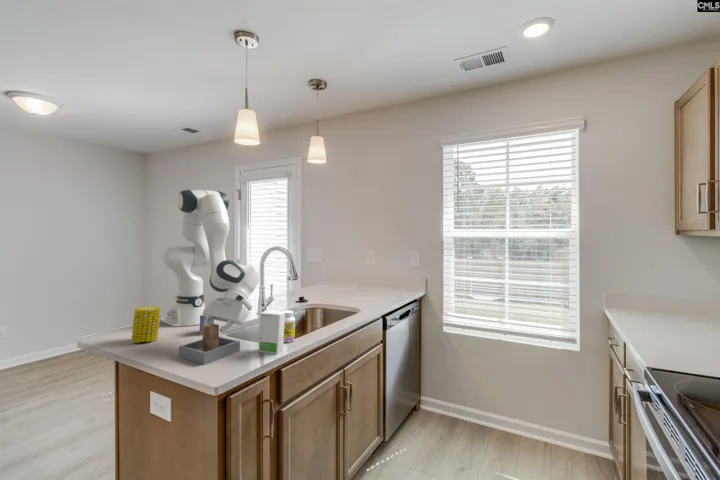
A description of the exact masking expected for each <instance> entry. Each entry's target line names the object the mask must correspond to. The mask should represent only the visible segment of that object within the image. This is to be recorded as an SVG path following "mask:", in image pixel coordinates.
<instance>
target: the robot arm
mask: <svg viewBox="0 0 720 480" xmlns="http://www.w3.org/2000/svg"><path fill="white" fill-rule="evenodd" d="M176 202H177V203H176V204H177V206H178V209H179V210H180V211H181V212H182V213H183V216H182V223H181V224H182V227H181V235H182V237H183V238H184V239H185V240H187V241H188V242H190V243H193V245H191V246H189V245H187V246H184V245H183V246H182V245H180V246H178V245H177V246H176V245H175V246H172V247H167V248H165V250H164V252H162V253H163V254H162V262H163V264H164V265H165V266H166V267H167V268H169V270H171V271H172V272H173V273H174V275H175V276H176V279H177V281H178V295H175V298H176V301H175V302H176V303H174V304H173V305H172V306H170V307H169V308H168V309H167V313H166V317H164V318H163V319H164V320H162V319H161V322H162V323H164V324H166V325H168V326H171V327H184V326H185V327H189V326H196V325H200V315H202V314H203V315H204V316H205V317H206V320H205V323H204V325H208V324H210V321H212V320H213V319H214V321H220V322H224V323H225V324H224V325H221V326H220V327H219V332H221V333H226V331H227V330H228V329H230V328H232V326H233V325H237V326H238V325H239V326H241V325H242V324H244V322H245V321H246V319H247V317H248V316H249V314H250V311H251V310H252V309H253V308H254V306H253V305H252V304H251V302H250V301H249V297H250V295H251V294H252V293H253V292H254V290H255V289H256V288H257V287H258V284H259V282H260V280H261V273H260V272H259V270H258V268H256V267H255V266H253V265H250V264H249V265H248V264H247V265H244V264H240V263H238V262H235V261H234V260H229V259H226V252H225V250H226V249H225V247H226V243H227V239H228V237H229V233H230V218H229V214H228V209H229V205H230V204H229V203H230V202H229V197H228V195H227V193H225V192H224V191H223V192H222V191H219V190H217V191H215V190H209V189H193V190H192V189H183V190H181V191H180V192H179V193H178V196H177V201H176ZM209 267H211V275H210V277H209V285H210V287H211V288H212V289H213V291H216V292H219V293H224V295H223V296H222V297H218V298H216V299H212V300H211V302H209V303H208V304H207V306H206V305H205V303H204V301H205V300H204V299H205V294H204V281H203V278H202V277H201V276H199V275H197V274H195V273H193V272H192V271H191V269H192V268H193V269H194V268H195V269H197V268H209ZM205 306H206V307H205ZM204 325H203V326H204Z"/></svg>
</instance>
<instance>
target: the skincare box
mask: <svg viewBox="0 0 720 480" xmlns="http://www.w3.org/2000/svg"><path fill="white" fill-rule="evenodd" d="M284 311H285V310H275V309H273V310H272V309H265V310H264V311H261V312H260V317H259V333H258V334H259V335H258V336H259V337H258V349H257V350H258V351H257V352H258V353H262V354H273V355H278V354H279V353H280V352H281V351H282V349H284V343H283V342H284V323H285V312H284Z"/></svg>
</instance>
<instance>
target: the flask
mask: <svg viewBox="0 0 720 480" xmlns="http://www.w3.org/2000/svg"><path fill="white" fill-rule="evenodd" d="M205 320H206V317H205V316H204V315H203V314H202V315H200V324H199V335H200V336H203V325H204V323H205ZM210 324H215V320H214V319H213V320H212V321H210Z"/></svg>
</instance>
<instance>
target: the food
mask: <svg viewBox="0 0 720 480" xmlns="http://www.w3.org/2000/svg"><path fill="white" fill-rule="evenodd" d="M160 318H161V307H160V306H159V307H158V306H154V305H153V306H151V305H148V306H146V305H144V306H141V307H137V308H135V310H134V316H133V319H132V321H133V323H132V332H131V333H132V334H131V341H132V342H131V343H133V344H134V343H135V344H138V343H143V342H144V343H145V342H146V343H149V342H151V343H152V342H155V341H156V340H158V339H159V338H158V336H159V326H160Z"/></svg>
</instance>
